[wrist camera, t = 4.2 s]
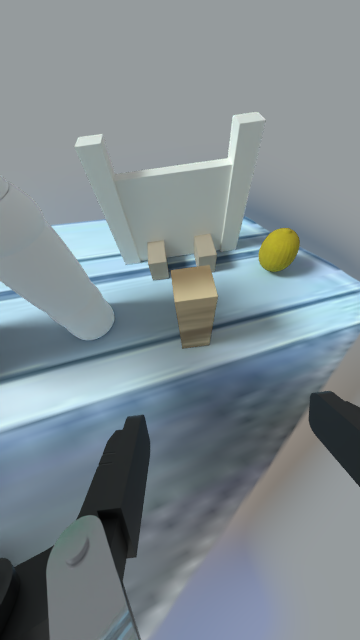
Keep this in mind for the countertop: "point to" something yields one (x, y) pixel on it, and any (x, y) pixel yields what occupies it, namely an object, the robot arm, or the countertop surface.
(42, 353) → the countertop surface
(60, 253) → the water bottle
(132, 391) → the countertop surface
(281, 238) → the lemon
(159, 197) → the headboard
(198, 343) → the tan wooden block
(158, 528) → the countertop surface
